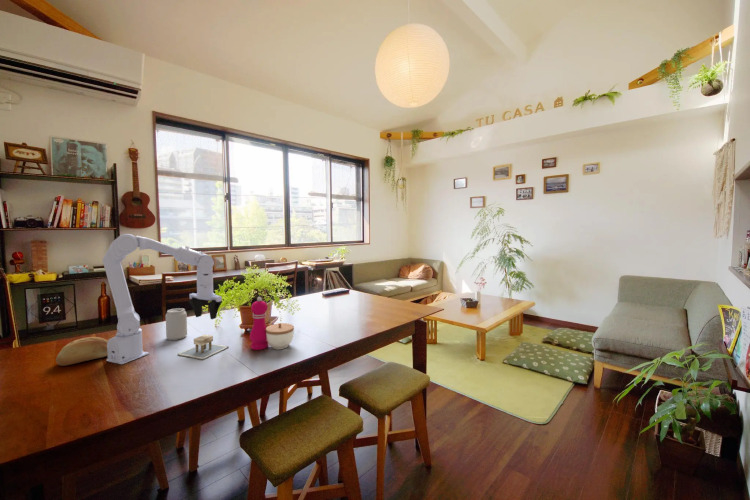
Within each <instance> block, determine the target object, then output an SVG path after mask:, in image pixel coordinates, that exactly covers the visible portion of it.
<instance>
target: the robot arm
mask: <svg viewBox="0 0 750 500" xmlns="http://www.w3.org/2000/svg"><path fill="white" fill-rule="evenodd" d="M137 249H139V251H142V250H152V251H156V252H159V253H163V254H165V255H170V256H171V257H172V256H173V258H174V260H175V261H177V262H179V263H183V264H187V265H190V266H196V293H195V292H192V293H189V295H188V296H189V300H188V303H189V305H190V306H191V308H192V310H193V312H194V315H195V318H199V317H202V315H203V314H202V312H203V304H204V301H208V302H206V305H207V307H208V311H209V317H210V320H214V319H216V318H217V315H218V311H219V309H220V308H221V307H220V306H221V304H222V303H223V299H222V295H218V294H216V293H214V272H213V267H214V265H215V261H214V258H213V257H212V256H210V255H208V254H207V253H205V252H204V253H203V252H202V251H201V250H200V251H197V250H194V249H193V248H192V249H191V248H190V246H187V245H185V246H179V247H174V246H171V245H169V244H166V243H163V242H161V241H158V240H155V239H152V238H149V237H144V236H140V235H136V236H135V235H134V234H131V233H123V234H120V235H118V237H116V238H115V239H114V240H113V241H112V242H111V243H110V244H109V247H108V249H107V250H106V252H105V254H104V256H103V258H102V264H103V266H104V271H105V274H106V277H107V282H108V285H109V288H110V291H111V295H112V299H113V302H114V305H115V310H116V316H117V321H118V322H117V325H116V330H117V331H116V334H115V336H113V337H110V338H109V339H107V340H108V342H107V353H108V356H107V358H106V362H109V363H114V364H118V365H124V364H126V363H129V362H133V361H134V360H137V359H139V358H142V357H144V356H148V355H149V354H150V352H148V351H144V346H143V329H142V328H141V327H140V326H141V322H140V321H141V317H140V315H139V314H138V313H137V312H136V311H135V308H134V305H133V301H132V297H131V294H130V291H129V288H128V284H127V280H126V276H125V272H124V269H123V268H124V267H123V265H122V262H123V260H124V259H126V257H127V256H128V255H130V254H132V253H134V252H135V251H136V250H137Z"/></svg>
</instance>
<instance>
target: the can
mask: <svg viewBox="0 0 750 500" xmlns="http://www.w3.org/2000/svg"><path fill="white" fill-rule="evenodd" d="M164 315H165V337H166V339H168V340H169V341H177V340H178V339H179V340H182V339H184V338H186V336H187V335H188V321H187V320H188V315H187V311H186V309H185V308H183V307H182V308H180V307H178V308H177V307H176V308H171V309H167V311H166V314H164Z"/></svg>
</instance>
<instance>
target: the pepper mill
mask: <svg viewBox="0 0 750 500" xmlns="http://www.w3.org/2000/svg"><path fill="white" fill-rule="evenodd" d="M262 299H263V298H262V297H261V296H258V297H257V298H256V301H254V302H252V304H251V306H250V309H251V313H252V318H253V324H252V328H251V331H250V334H249V340H250V341H251V343H250V348H251V349H252V350H254V351H259V350H260V351H261V350H265V349H267V348H268V346H269V344H268V342H267V338H266V328H267V327H268V326H267V324H266V317H267V310H268V304H267V302H266V301H264V300H262Z"/></svg>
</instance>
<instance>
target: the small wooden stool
mask: <svg viewBox="0 0 750 500" xmlns="http://www.w3.org/2000/svg"><path fill="white" fill-rule="evenodd" d="M212 342H214V336H213V335H211V334H203V335H200V336H198V337H195V338H193V345H195V346H196V352H198V345H201V353H204V349H205V348H206V344H207V343H209V349H212V344H213V343H212Z"/></svg>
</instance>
